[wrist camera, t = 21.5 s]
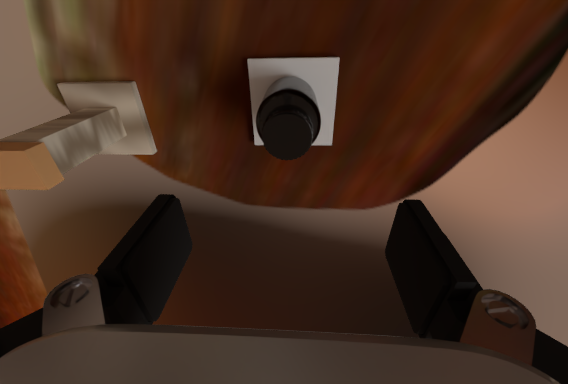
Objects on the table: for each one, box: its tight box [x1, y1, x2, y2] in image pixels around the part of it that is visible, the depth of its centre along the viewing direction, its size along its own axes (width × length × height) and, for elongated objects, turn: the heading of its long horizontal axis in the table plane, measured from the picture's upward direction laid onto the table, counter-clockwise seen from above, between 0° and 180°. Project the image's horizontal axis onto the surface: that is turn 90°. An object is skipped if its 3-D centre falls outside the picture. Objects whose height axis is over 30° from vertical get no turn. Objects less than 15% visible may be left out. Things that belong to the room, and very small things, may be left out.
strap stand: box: [0, 81, 157, 175], centre depth 31 cm, size 10×10×14 cm
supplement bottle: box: [256, 76, 321, 160], centre depth 28 cm, size 7×7×12 cm
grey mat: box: [247, 57, 339, 145], centre depth 34 cm, size 11×11×1 cm
